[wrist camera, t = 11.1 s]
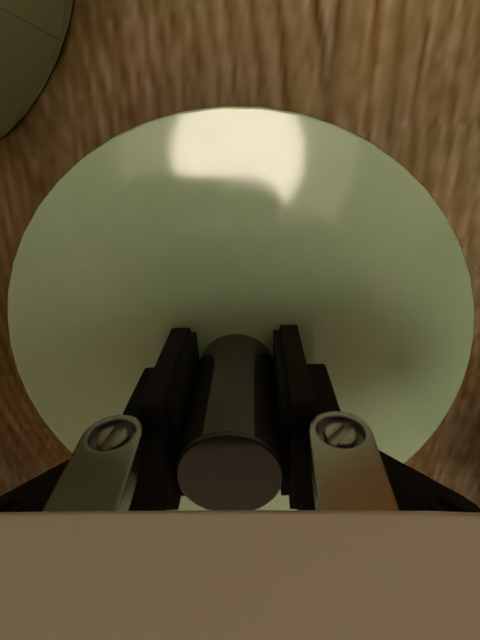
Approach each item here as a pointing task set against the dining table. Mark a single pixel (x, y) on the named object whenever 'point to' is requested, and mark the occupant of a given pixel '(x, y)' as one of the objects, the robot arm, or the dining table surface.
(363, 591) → the robot arm
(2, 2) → the pot
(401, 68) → the dining table surface
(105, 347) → the lid
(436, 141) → the dining table surface
